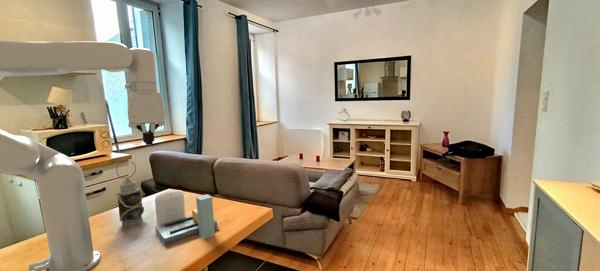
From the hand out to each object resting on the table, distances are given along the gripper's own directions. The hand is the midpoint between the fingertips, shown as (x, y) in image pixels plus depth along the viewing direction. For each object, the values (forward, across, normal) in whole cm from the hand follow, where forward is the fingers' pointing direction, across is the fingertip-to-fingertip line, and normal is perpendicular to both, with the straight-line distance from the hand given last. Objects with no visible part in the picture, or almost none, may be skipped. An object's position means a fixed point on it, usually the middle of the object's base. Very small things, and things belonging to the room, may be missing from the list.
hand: (149, 144), depth 92 cm
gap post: (+33, +13, -11) cm, 37 cm away
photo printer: (+33, +7, +10) cm, 35 cm away
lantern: (+33, -5, +18) cm, 38 cm away
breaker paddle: (+30, +14, -2) cm, 33 cm away
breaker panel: (+33, +9, -2) cm, 34 cm away
